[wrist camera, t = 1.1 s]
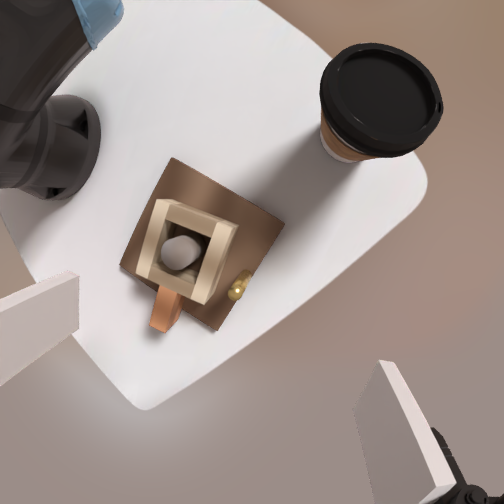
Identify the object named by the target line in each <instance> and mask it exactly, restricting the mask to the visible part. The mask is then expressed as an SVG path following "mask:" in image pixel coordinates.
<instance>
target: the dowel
mask: <svg viewBox="0 0 504 504" xmlns="http://www.w3.org/2000/svg"><path fill="white" fill-rule="evenodd" d="M251 277H252V273H251V272H250V271H249V270H247V269H245V270H243V271H242V272H241V273H240V275H239V276H238V278H237V279H236V281H235V282H234V283H233V285H232V286H231V288H230V289H229V291H228V297H229V298H230V299H231V300H233V301H237V300H239V299H240V298H241V296H242V294H243V292H244V291H245V289H246V287H247V285H248V283H249V281H250V279H251Z"/></svg>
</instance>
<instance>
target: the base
mask: <svg viewBox="0 0 504 504" xmlns="http://www.w3.org/2000/svg"><path fill="white" fill-rule="evenodd" d="M157 199H173V200H175V201H178V202H181V203H183V204H186V205H189V206H191V207H194V208H196V209H199V210H202V211H204V212H207V213H209V214H212V215H214V216H217V217H220V218H222V219H225V220H227V221H230V222H232V223H235V224H237V225H239V227H238V230H237V233H236V235H235V238H234V241H233V243H232V246H231V249H230V251H229V254H228V257H227V259H226V262H225V265H224V268H223V270H222V273H221V276H220V278H219V281H218V284H217V287H216V289H215V292H214V294H213V295H212V296H211V297H210V299H209V300H208V301H207V302H206V303H205V305H203V304H201V303H199V302H196V301H194V300H192V299H190V298H187V297H185V299H184V302H183V305H182V309H183V310H185V311H186V312H188V313H189V314H191V315H192V316H194V317H196V318H197V319H199V320H200V321H202V322H203V323H205V324H207V325H208V326H210V327H211V328H213V329H215V330H216V331H218V329H219V328H220V326H221V325H222V323H223V322H224V320H225V318H226V317H227V315H228V314H229V312H230V311H231V309H232V307H233V306H234V304H235V303H236V301H233V300H231V299H230V298H229V297H228V291H229V289H230V288H231V286H232V285H233V283H234V282H235V281H236V279H237V278H238V276H239V275H240V273H241V272H242V271H243V270H245V269H247V270H249V271H250V272H251V273H252V276H253V274H254V273H255V271H256V270H257V268H258V266H259V265H260V263H261V262H262V260H263V258H264V257H265V255H266V254H267V252H268V250H269V249H270V247H271V246H272V244H273V242H274V241H275V239H276V238H277V236H278V234H279V233H280V231H281V230H282V228H283V226H284V225H285V223H284V222H282V221H280V220H279V219H277V218H275V217H274V216H272V215H271V214H269V213H267V212H266V211H264V210H262V209H261V208H259V207H257V206H256V205H254V204H252V203H251V202H249V201H248V200H246V199H244V198H243V197H241V196H239V195H237V194H236V193H234V192H232V191H231V190H229V189H227V188H226V187H224V186H222V185H221V184H219V183H217V182H215V181H214V180H212V179H210V178H209V177H207V176H205V175H203V174H202V173H200V172H198V171H196V170H195V169H193V168H191V167H189V166H188V165H186V164H184V163H182V162H180V161H179V160H177V159H175V158H172V157H171V159H170V161H169V163H168V165H167V166H166V168H165V170H164V172H163V174H162V176H161V178H160V179H159V181H158V183H157V185H156V187H155V189H154V191H153V193H152V195H151V197H150V199H149V201H148V203H147V205H146V207H145V209H144V211H143V213H142V215H141V217H140V219H139V221H138V224H137V226H136V228H135V230H134V232H133V234H132V237H131V239H130V241H129V243H128V246H127V248H126V250H125V252H124V255H123V257H122V259H121V262H120V264H119V265H120V266H121V267H123V268H124V269H126V270H127V271H128V272H130V273H131V274H132V275H134V276H135V277H137V278H138V279H139V280H141V281H142V282H144V283H145V284H146V285H148V286H149V287H151V288H152V289H154V290H155V291H156V292H158V289H159V286H160V285H159V284H157V283H155V282H153V281H151V280H148V279H146V278H144V277H142V276H140V275H138V274H136V269H137V265H138V261H139V257H140V253H141V250H142V246H143V243H144V239H145V236H146V232H147V229H148V225H149V222H150V219H151V216H152V212H153V209H154V206H155V203H156V200H157ZM210 241H211V237H208V236H206V235H203V234H201V233H198V232H196V231H193V230H191V229H188V228H186V227H184V226H181V225H179V224H177V226H176V229H175V232H174V235H173V238H172V239H169V240H167V241H166V242H165V243H164V244H163V246H162V249H161V258H162V260H163V262H164V264H165V265H166V266H167V267H168V268H170V269H173V270H181V269H183V268H185V267H187V268H189V269H192V270H194V271H196V272H200V269H201V266H202V263H203V260H204V258H205V255H206V252H207V249H208V246H209V243H210Z"/></svg>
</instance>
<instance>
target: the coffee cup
mask: <svg viewBox="0 0 504 504" xmlns="http://www.w3.org/2000/svg"><path fill="white" fill-rule="evenodd" d="M319 95H320V101H321V131H320V137H321V142H322V145H323V147H324V149H325V150H326V151H327V153H328V154H329V155H331V156H332V157H333V158H335V159H336V160H339V161H341V162H347V163H352V162H357V161H363V160H368V159H375V158H393V157H398V156H403V155H405V154H407V153H409V152H412V151H413V150H415V149H416V148H418V147H419V146H420V145H422V144H423V143H424V141H425V140H426V139H427V138H428V136H429V135H430V134H431V133H432V132H433V131H434V130H435V128H436V127H437V125H438V123H439V121H440V119H441V116H442V114H443V102H442V97H441V94H440V90H439V88H438V85H437V83H436V81H435V79H434V77H433V76H432V74H431V73H430V71H429V70H428V69H427V68H426V67H425V66H424V65H423V64H422V63H421V62H420V61H418V60H417V59H416V58H414V57H413V56H411V55H410V54H408V53H406V52H404V51H402V50H400V49H397V48H395V47H392V46H389V45H384V44H378V43H360V44H356V45H353V46H350V47H348V48H346V49H344V50H342V51H341V52H340V53H339V54H338V55H337V56H336V57H335V58H334V59H332V60H331V61H330V62H329V63H328V65H327V67H326V68H325V70H324V72H323V75H322V78H321V83H320V94H319Z"/></svg>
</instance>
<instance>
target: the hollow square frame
mask: <svg viewBox="0 0 504 504" xmlns="http://www.w3.org/2000/svg"><path fill="white" fill-rule="evenodd" d="M177 224H179V225H181V226H184V227H186V228H188V229H191V230H193V231H196V232H198V233H201V234H203V235H206V236H208V237H211V241H210V243H209V246H208V249H207V252H206V255H205V258H204V260H203V263H202V266H201V269H200V272H196V271H194V270H192V269H189V268H187V267H185V268H183V269H181V270H173V269H170V268H168V267H167V266H166V265H165V264H164V262H163V260H162V258H161V249H162V246H163V244H164V243H165V242H166V241H167V240H169V239H172V238H173V235H174V232H175V229H176V226H177ZM238 227H239V225H237V224H235V223H232V222H230V221H227V220H225V219H222V218H220V217H217V216H214V215H212V214H209V213H207V212H204V211H202V210H199V209H196V208H194V207H191V206H189V205H186V204H183V203H181V202H178V201H175V200H173V199H157V200H156V203H155V206H154V209H153V212H152V216H151V219H150V222H149V225H148V229H147V232H146V236H145V239H144V243H143V246H142V250H141V253H140V257H139V261H138V265H137V269H136V274H138V275H140V276H142V277H144V278H146V279H148V280H151V281H153V282H155V283H157V284H159V285H160V286H159V289H158V293H157V296H156V300H155V304H154V308H153V311H152V315H151V319H150V323H149V326H151V327H153V328H155V329H157V330H159V331H162V332H164V333H166V332H167V331H168V330H169V328H170V327H171V326H172V325H173V324H174V323H175V322H176V321H177V320H178V318H179V315H180V311H181V308H182V305H183V302H184V299H185V297H187V298H190V299H192V300H194V301H196V302H199V303H201V304H203V305H205V303H206V302H207V301H208V300H209V299H210V297H211V296H212V295H213V294H214V292H215V289H216V287H217V284H218V281H219V278H220V276H221V273H222V270H223V268H224V265H225V262H226V259H227V257H228V254H229V251H230V249H231V246H232V243H233V241H234V238H235V235H236V233H237V230H238Z"/></svg>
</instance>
